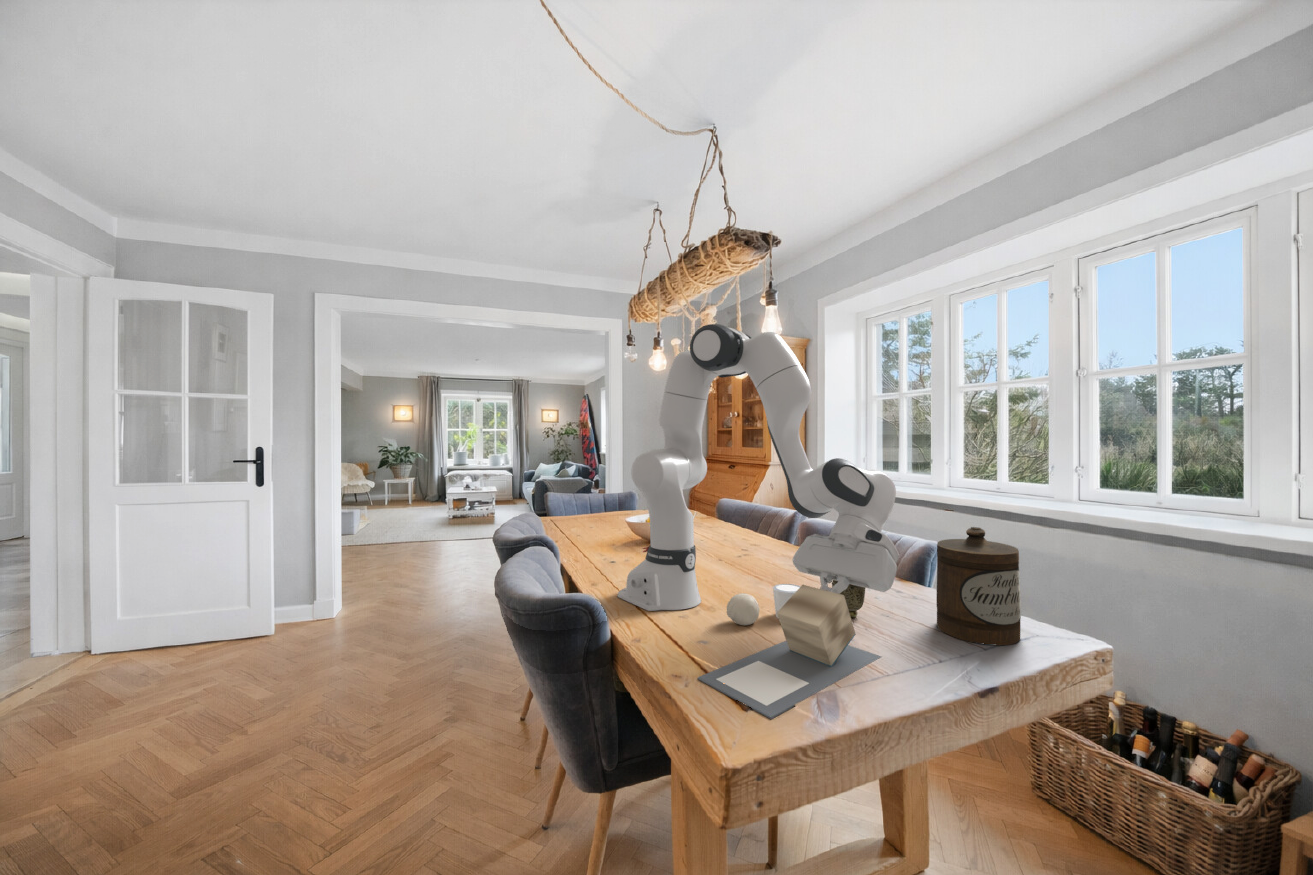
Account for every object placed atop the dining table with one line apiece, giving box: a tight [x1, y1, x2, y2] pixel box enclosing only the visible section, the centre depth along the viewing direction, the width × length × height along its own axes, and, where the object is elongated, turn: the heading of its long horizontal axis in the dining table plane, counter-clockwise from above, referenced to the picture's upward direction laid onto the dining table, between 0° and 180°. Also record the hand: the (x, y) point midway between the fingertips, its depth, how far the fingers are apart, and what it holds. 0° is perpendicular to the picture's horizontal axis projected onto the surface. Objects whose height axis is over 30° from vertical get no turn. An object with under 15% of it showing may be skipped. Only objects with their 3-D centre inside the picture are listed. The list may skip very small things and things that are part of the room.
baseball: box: [726, 593, 760, 627], centre depth 111 cm, size 7×7×7 cm
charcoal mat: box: [697, 640, 883, 720], centre depth 90 cm, size 32×16×1 cm, turn 128°
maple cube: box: [777, 584, 856, 667], centre depth 94 cm, size 9×9×9 cm
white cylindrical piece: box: [772, 583, 802, 620], centre depth 115 cm, size 7×7×7 cm
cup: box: [831, 580, 866, 619], centre depth 115 cm, size 8×7×8 cm
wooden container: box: [936, 526, 1022, 646], centre depth 105 cm, size 15×15×22 cm
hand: (826, 597), depth 96 cm, fingers closed
